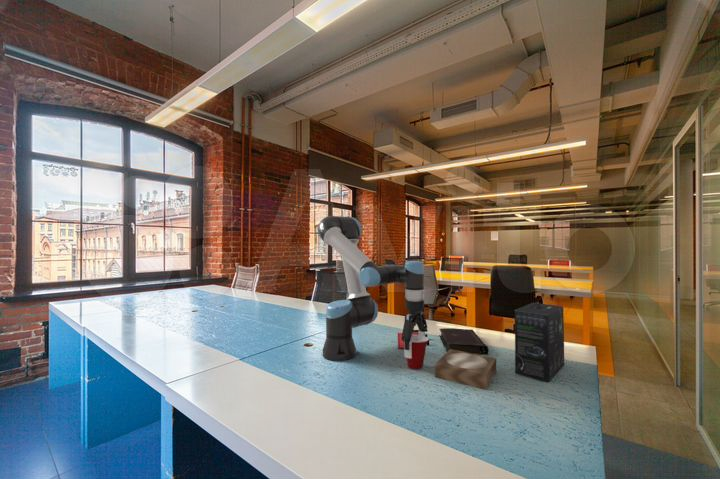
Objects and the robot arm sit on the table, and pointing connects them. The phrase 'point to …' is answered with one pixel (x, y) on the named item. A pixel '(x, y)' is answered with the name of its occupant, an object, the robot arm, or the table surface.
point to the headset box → (539, 340)
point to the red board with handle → (400, 342)
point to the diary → (462, 341)
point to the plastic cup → (417, 352)
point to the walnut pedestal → (466, 368)
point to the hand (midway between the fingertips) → (415, 352)
